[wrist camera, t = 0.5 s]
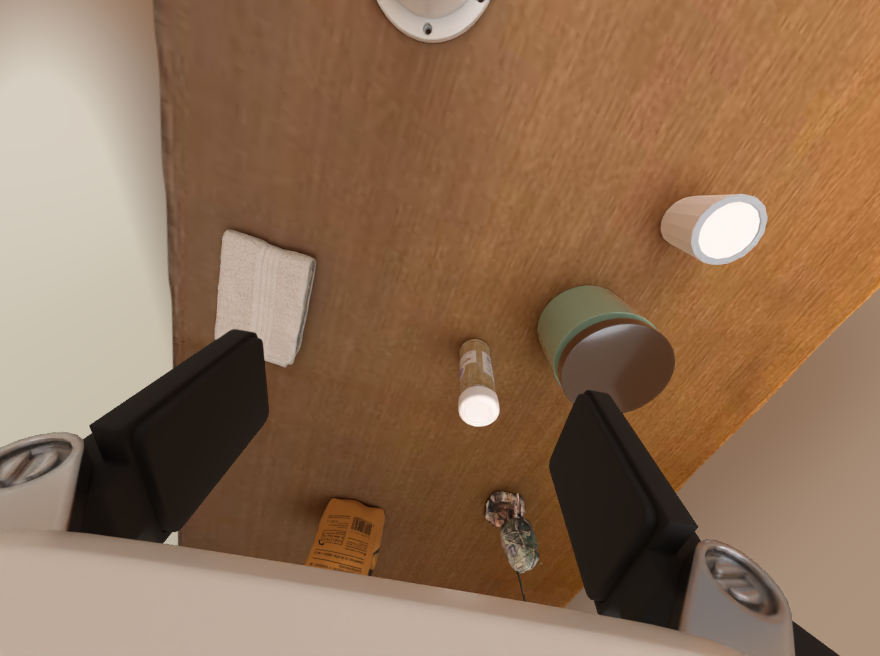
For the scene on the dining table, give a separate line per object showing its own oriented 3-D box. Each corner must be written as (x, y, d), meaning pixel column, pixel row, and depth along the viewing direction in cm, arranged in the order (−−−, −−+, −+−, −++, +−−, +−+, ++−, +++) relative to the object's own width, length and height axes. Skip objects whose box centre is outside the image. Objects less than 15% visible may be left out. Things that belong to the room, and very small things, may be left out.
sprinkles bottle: (458, 338, 47) (458, 395, 35) (490, 337, 47) (500, 395, 35) (459, 364, 49) (458, 428, 37) (489, 365, 49) (499, 428, 37)
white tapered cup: (682, 179, 37) (728, 181, 30) (731, 205, 38) (785, 212, 31) (642, 236, 40) (676, 248, 33) (688, 259, 40) (730, 275, 34)
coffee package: (379, 536, 69) (346, 684, 49) (322, 521, 68) (264, 665, 48) (391, 508, 65) (361, 657, 45) (330, 491, 63) (271, 636, 44)
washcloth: (223, 339, 50) (209, 349, 47) (229, 224, 42) (213, 228, 39) (300, 363, 51) (290, 374, 48) (319, 255, 43) (310, 261, 40)
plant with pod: (542, 493, 60) (576, 630, 42) (509, 526, 65) (527, 663, 47) (504, 477, 59) (522, 612, 41) (473, 512, 64) (478, 647, 46)
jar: (549, 280, 43) (577, 315, 32) (640, 291, 43) (697, 329, 32) (528, 358, 48) (547, 409, 38) (609, 368, 48) (650, 422, 37)
